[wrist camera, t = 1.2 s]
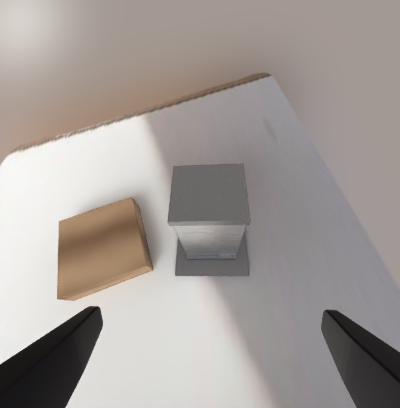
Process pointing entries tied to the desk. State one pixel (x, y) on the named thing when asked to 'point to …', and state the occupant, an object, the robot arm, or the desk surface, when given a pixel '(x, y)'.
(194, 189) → the block
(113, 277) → the stand
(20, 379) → the robot arm
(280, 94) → the desk surface
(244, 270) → the pad
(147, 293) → the desk surface
